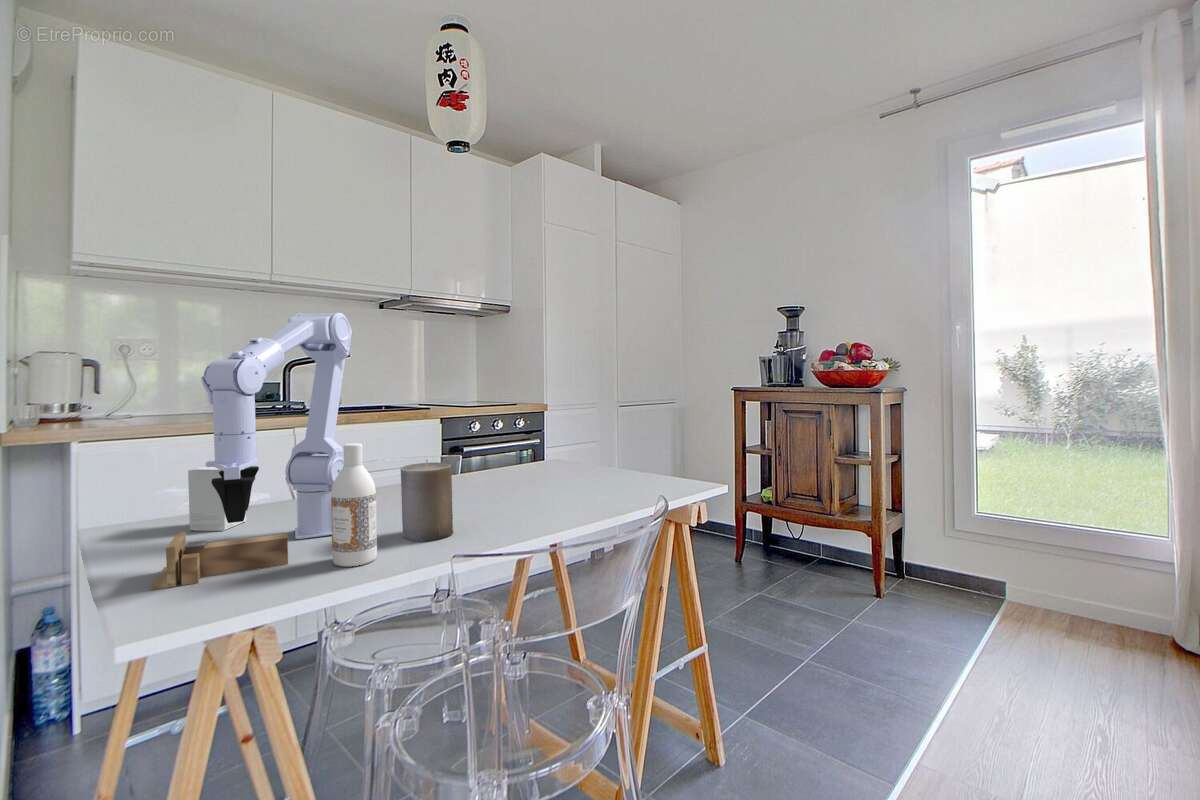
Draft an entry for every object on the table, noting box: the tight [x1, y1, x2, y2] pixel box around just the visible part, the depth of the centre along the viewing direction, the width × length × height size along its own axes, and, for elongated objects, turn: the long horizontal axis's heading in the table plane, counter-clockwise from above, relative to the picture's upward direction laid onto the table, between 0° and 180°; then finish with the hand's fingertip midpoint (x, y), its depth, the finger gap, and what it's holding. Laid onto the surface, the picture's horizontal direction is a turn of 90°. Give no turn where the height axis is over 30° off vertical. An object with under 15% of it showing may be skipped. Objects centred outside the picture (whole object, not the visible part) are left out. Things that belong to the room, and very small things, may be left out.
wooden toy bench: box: [150, 531, 201, 591], centre depth 87 cm, size 6×9×6 cm, turn 29°
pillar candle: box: [399, 459, 454, 542], centre depth 110 cm, size 10×10×15 cm
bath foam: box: [331, 442, 378, 568], centre depth 94 cm, size 7×7×20 cm
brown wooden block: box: [184, 533, 289, 578], centre depth 91 cm, size 14×3×5 cm, turn 119°
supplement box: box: [187, 465, 247, 532], centre depth 116 cm, size 7×7×13 cm
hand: (238, 516), depth 91 cm, fingers open, 7 cm apart
